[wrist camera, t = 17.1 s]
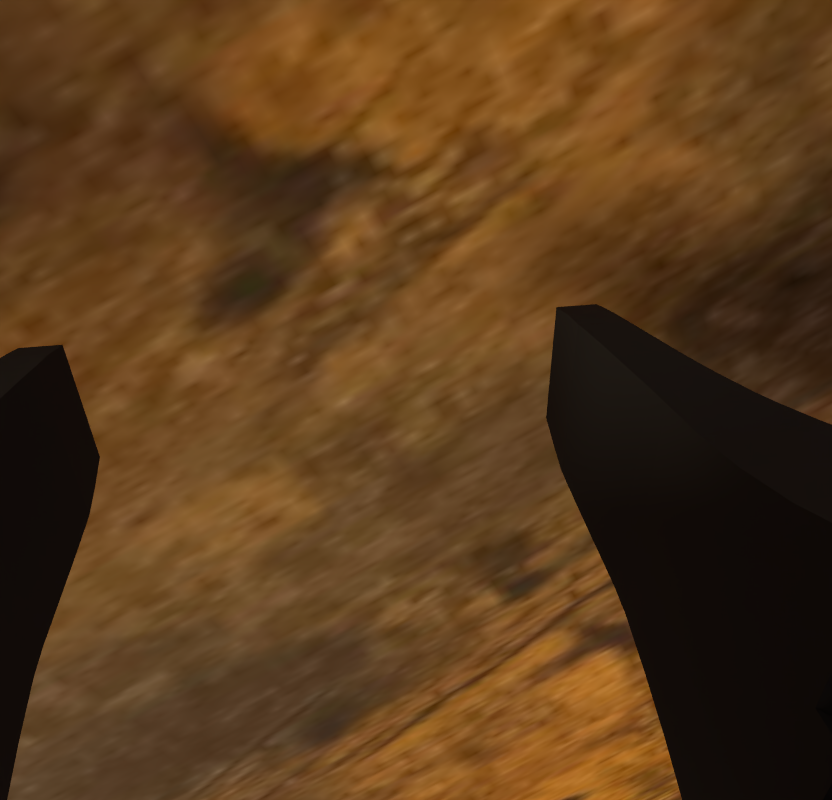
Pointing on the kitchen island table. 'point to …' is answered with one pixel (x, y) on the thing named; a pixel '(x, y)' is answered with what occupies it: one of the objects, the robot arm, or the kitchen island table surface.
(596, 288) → the kitchen island table surface
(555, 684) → the kitchen island table surface
